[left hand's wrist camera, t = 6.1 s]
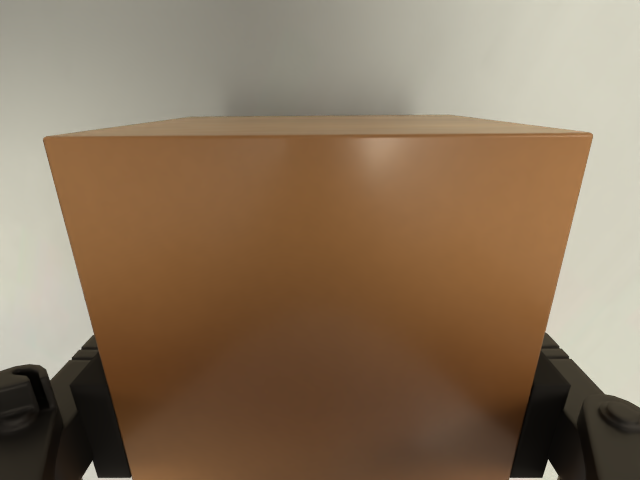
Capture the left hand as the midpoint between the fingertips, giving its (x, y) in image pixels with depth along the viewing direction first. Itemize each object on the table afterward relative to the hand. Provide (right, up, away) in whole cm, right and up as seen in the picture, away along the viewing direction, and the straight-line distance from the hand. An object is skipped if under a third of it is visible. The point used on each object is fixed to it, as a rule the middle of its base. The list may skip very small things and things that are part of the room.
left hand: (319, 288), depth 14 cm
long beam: (0, -24, +10) cm, 26 cm away
